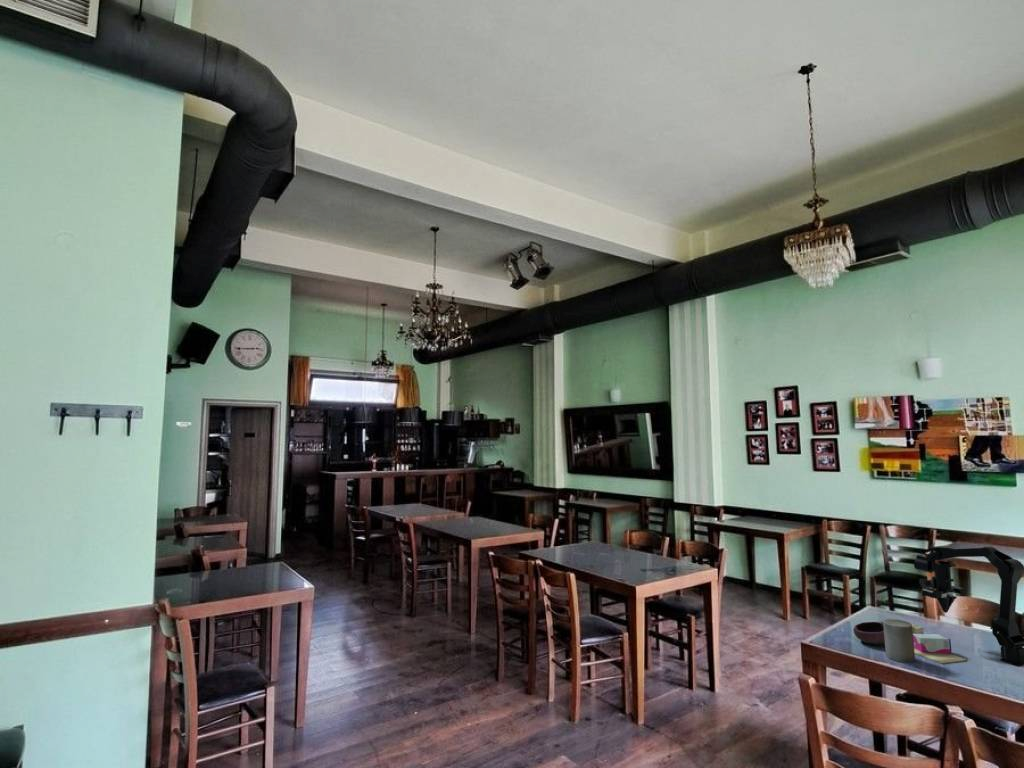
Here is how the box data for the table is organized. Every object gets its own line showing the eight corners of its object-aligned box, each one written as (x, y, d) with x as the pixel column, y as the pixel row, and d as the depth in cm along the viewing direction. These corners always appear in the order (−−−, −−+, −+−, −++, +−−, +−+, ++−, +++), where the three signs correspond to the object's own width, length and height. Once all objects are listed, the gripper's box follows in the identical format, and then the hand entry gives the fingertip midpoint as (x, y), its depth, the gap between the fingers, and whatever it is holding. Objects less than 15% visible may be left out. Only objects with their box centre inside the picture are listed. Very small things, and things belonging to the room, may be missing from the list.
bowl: (888, 651, 226) (886, 630, 227) (852, 643, 235) (850, 624, 235) (892, 640, 239) (890, 621, 240) (857, 633, 247) (856, 615, 248)
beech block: (924, 646, 231) (923, 627, 232) (918, 648, 230) (917, 628, 230) (914, 643, 235) (913, 624, 236) (908, 644, 233) (907, 625, 234)
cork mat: (967, 660, 216) (967, 659, 216) (941, 664, 213) (941, 663, 213) (929, 647, 231) (929, 646, 231) (905, 650, 227) (905, 649, 227)
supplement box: (940, 634, 229) (911, 633, 230) (950, 639, 223) (920, 638, 224) (942, 648, 228) (912, 647, 229) (952, 653, 222) (922, 652, 223)
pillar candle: (913, 656, 221) (910, 617, 223) (916, 664, 212) (913, 624, 214) (884, 652, 226) (881, 614, 227) (886, 660, 217) (883, 620, 219)
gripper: (939, 569, 250) (942, 605, 248) (908, 572, 245) (910, 608, 243) (966, 575, 239) (968, 612, 237) (933, 578, 234) (936, 616, 232)
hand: (945, 612), depth 238 cm, fingers closed
